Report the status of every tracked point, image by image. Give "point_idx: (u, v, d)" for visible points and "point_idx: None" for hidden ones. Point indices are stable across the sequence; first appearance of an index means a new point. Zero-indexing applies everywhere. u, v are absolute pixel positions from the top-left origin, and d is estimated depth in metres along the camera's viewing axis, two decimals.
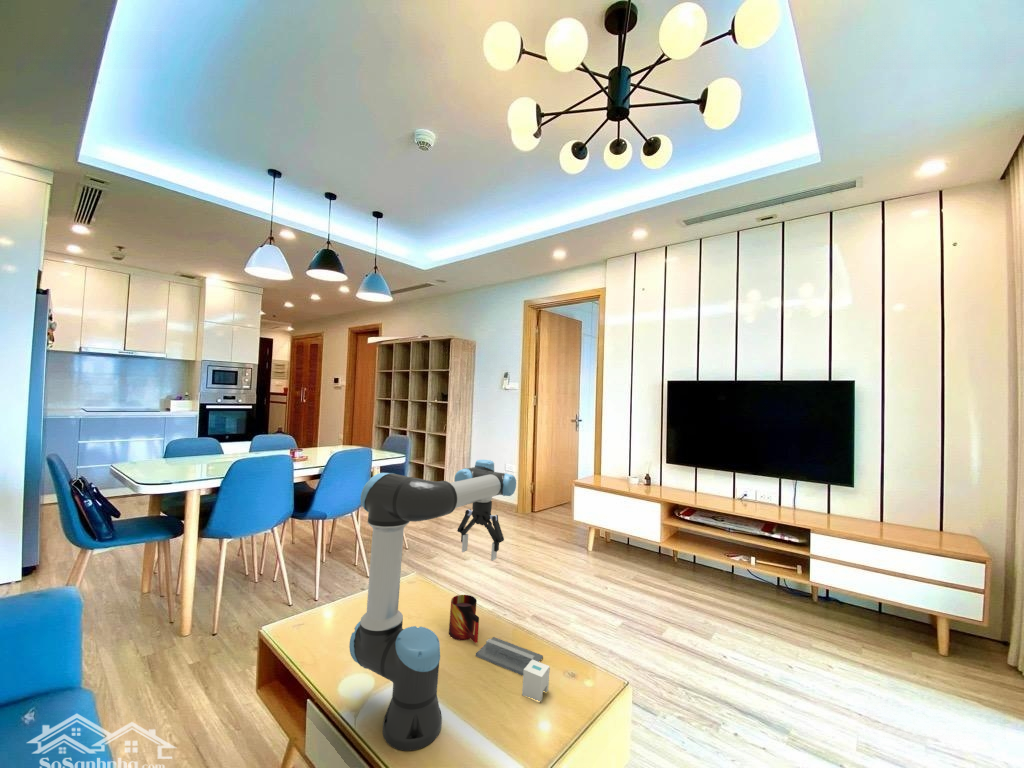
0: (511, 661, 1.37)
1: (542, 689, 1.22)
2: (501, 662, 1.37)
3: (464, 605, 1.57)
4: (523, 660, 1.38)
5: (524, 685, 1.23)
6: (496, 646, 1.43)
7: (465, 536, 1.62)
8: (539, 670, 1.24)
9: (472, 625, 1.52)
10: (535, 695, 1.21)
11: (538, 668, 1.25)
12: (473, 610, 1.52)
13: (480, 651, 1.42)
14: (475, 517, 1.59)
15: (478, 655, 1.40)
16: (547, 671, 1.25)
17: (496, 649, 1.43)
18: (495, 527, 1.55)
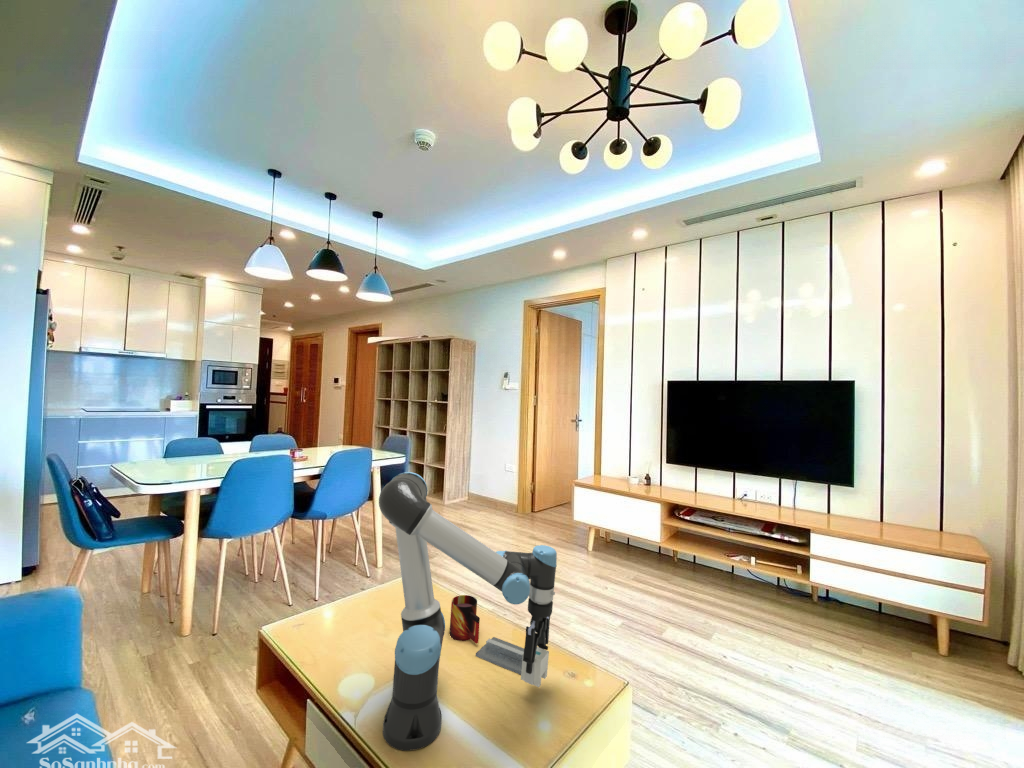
0: (511, 661, 1.37)
1: (541, 673, 1.22)
2: (501, 662, 1.37)
3: (465, 605, 1.57)
4: None
5: (523, 669, 1.23)
6: (496, 646, 1.43)
7: None
8: (539, 655, 1.24)
9: (473, 625, 1.52)
10: (534, 679, 1.21)
11: (537, 653, 1.25)
12: (474, 610, 1.52)
13: (480, 651, 1.42)
14: None
15: (478, 655, 1.40)
16: (546, 656, 1.25)
17: (496, 649, 1.43)
18: None
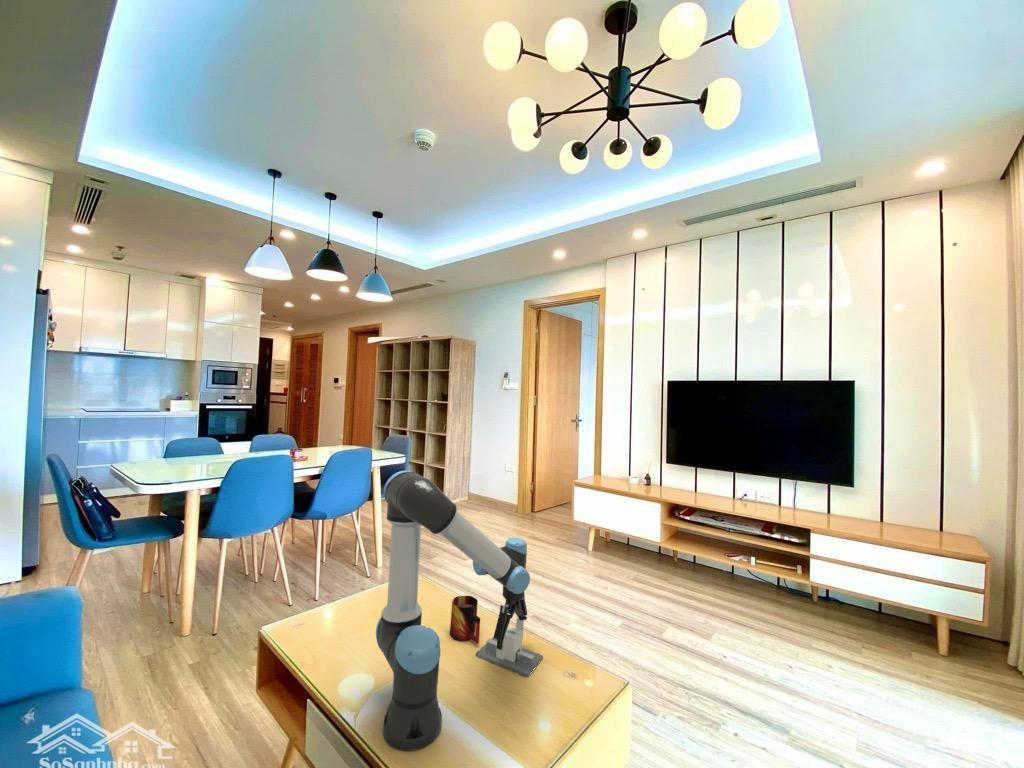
0: (511, 661, 1.37)
1: (515, 650, 1.38)
2: (501, 662, 1.37)
3: (465, 606, 1.57)
4: (523, 660, 1.38)
5: None
6: (496, 646, 1.43)
7: (518, 621, 1.48)
8: (513, 634, 1.40)
9: (473, 626, 1.51)
10: (509, 655, 1.38)
11: (512, 632, 1.41)
12: (474, 611, 1.52)
13: (480, 651, 1.42)
14: None
15: (478, 655, 1.40)
16: (520, 635, 1.41)
17: (496, 649, 1.43)
18: None
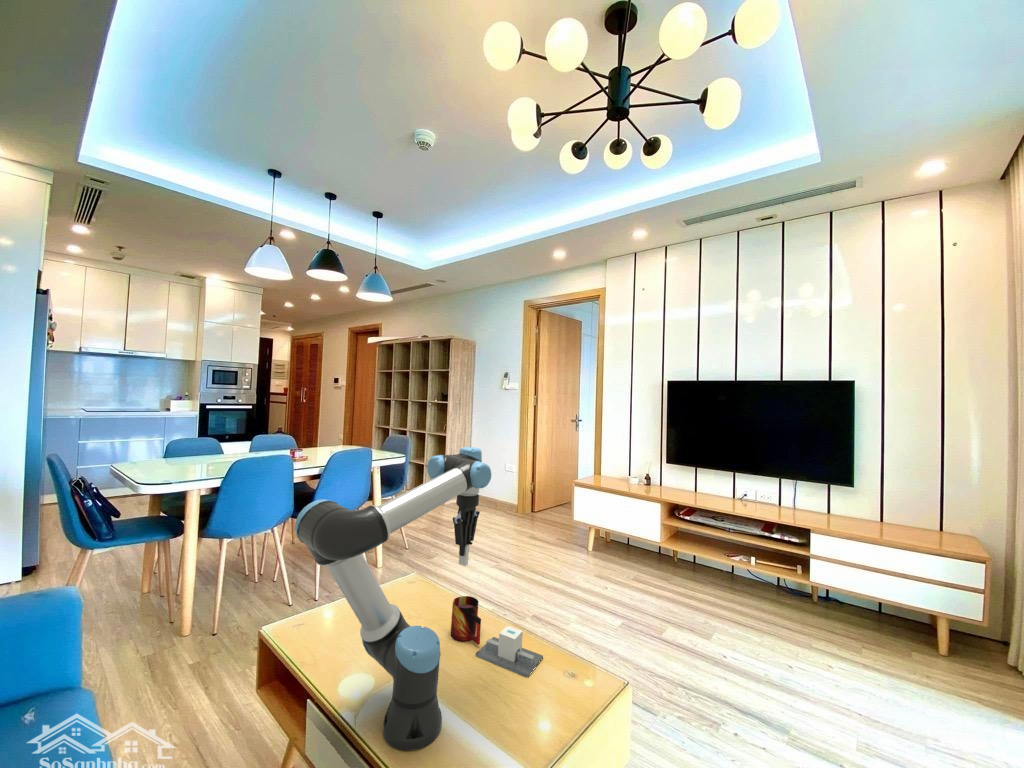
0: (511, 661, 1.37)
1: (515, 650, 1.38)
2: (501, 662, 1.37)
3: (466, 606, 1.56)
4: (523, 660, 1.38)
5: (500, 647, 1.40)
6: (496, 646, 1.43)
7: None
8: (513, 634, 1.40)
9: (474, 627, 1.51)
10: (509, 655, 1.38)
11: (512, 632, 1.41)
12: (475, 611, 1.51)
13: (480, 651, 1.42)
14: None
15: (478, 655, 1.40)
16: (520, 635, 1.41)
17: (496, 649, 1.43)
18: None
